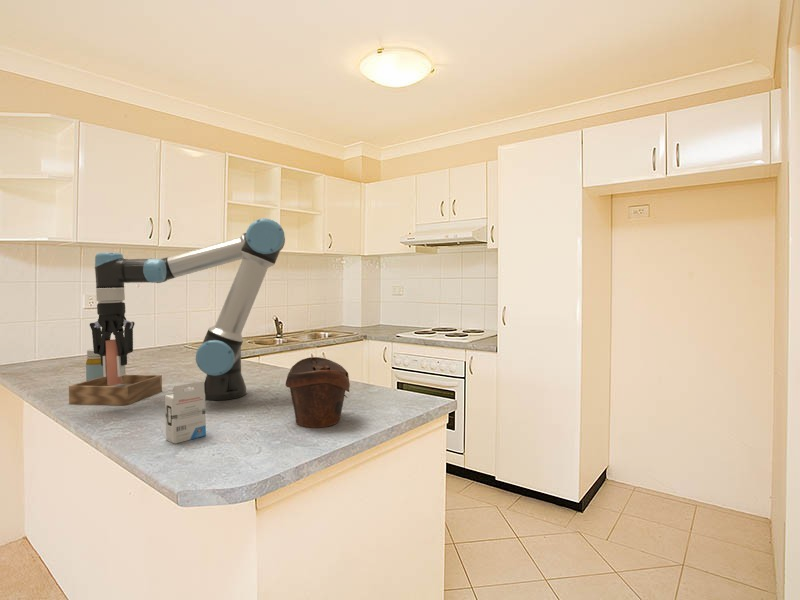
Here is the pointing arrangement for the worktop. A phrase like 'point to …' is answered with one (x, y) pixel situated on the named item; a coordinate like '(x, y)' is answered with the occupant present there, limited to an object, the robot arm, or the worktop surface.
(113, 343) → the peg
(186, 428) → the ink box
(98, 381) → the crate
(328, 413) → the chocolate muffin
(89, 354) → the bottle
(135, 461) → the worktop surface
